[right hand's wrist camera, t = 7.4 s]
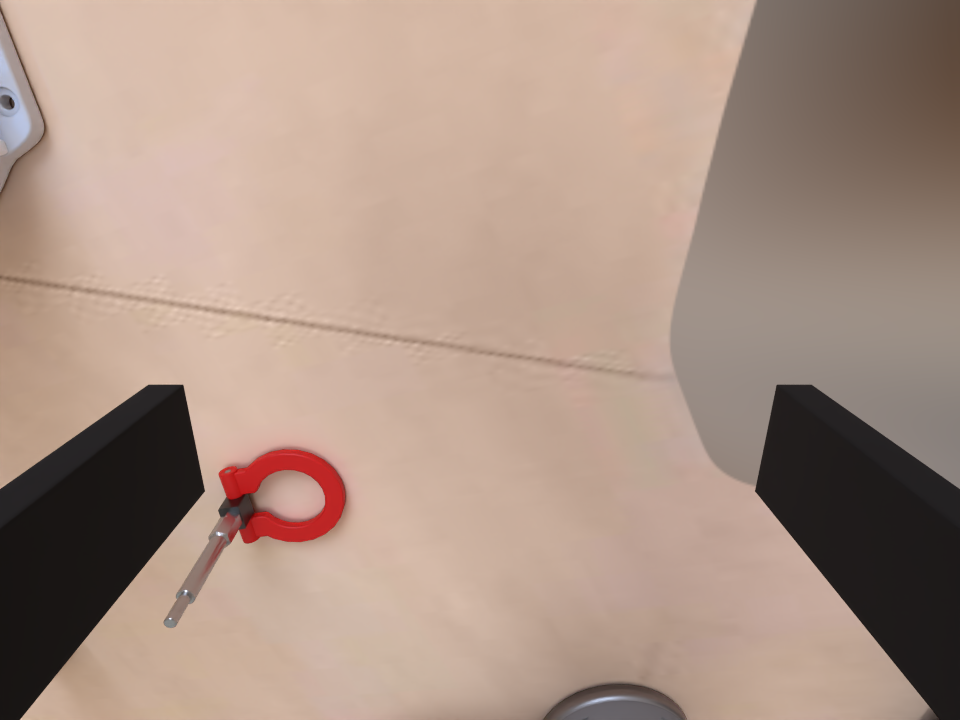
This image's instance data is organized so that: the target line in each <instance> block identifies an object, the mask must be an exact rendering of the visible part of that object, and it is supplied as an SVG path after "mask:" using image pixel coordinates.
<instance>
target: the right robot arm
mask: <svg viewBox="0 0 960 720" xmlns="http://www.w3.org/2000/svg"><path fill="white" fill-rule="evenodd" d="M204 492H205V490H204V485H203V480H202V475H201V470H200V465H199V460H198V455H197V450H196V445H195V440H194V435H193V430H192V426H191V421H190V416H189V411H188V406H187V401H186V396H185V391H184V386H183V385H148V386H146V387H145V388H143V389H142V390H140V391H139V392H138V393H136V394H135V395H133V396H132V397H131V398H129V399H128V400H126V401H125V402H123V403H122V404H121V405H119V406H118V407H116V408H115V409H113V410H112V411H111V412H109V413H108V414H106V415H105V416H104V417H102V418H101V419H99V420H98V421H96V422H95V423H94V424H92V425H91V426H89V427H88V428H86V429H85V430H84V431H82V432H81V433H79V434H78V435H77V436H75V437H74V438H72V439H71V440H69V441H68V442H67V443H65V444H64V445H62V446H61V447H59V448H58V449H57V450H55V451H54V452H52V453H51V454H50V455H48V456H47V457H45V458H44V459H42V460H41V461H40V462H38V463H37V464H35V465H34V466H32V467H31V468H30V469H28V470H27V471H25V472H24V473H23V474H21V475H20V476H18V477H17V478H15V479H14V480H13V481H11V482H10V483H8V484H7V485H5V486H4V487H3V488H1V489H0V720H20V719H21V718H22V716H23V715H24V714H25V713H26V711H27V710H28V709H29V708H30V706H31V705H32V704H33V703H34V702H35V700H36V699H37V698H38V697H39V695H40V694H41V693H42V692H43V690H44V689H45V688H46V687H47V685H48V684H49V683H50V682H51V681H52V679H53V678H54V677H55V676H56V674H57V673H58V672H59V671H60V669H61V668H62V667H63V666H64V664H65V663H66V662H67V661H68V660H69V658H70V657H71V656H72V655H73V653H74V652H75V651H76V650H77V648H78V647H79V646H80V645H81V644H82V642H83V641H84V640H85V639H86V637H87V636H88V635H89V634H90V632H91V631H92V630H93V629H94V627H95V626H96V625H97V624H98V623H99V621H100V620H101V619H102V618H103V616H104V615H105V614H106V613H107V611H108V610H109V609H110V608H111V606H112V605H113V604H114V603H115V602H116V600H117V599H118V598H119V597H120V595H121V594H122V593H123V592H124V590H125V589H126V588H127V587H128V585H129V584H130V583H131V582H132V581H133V579H134V578H135V577H136V576H137V574H138V573H139V572H140V571H141V569H142V568H143V567H144V566H145V564H146V563H147V562H148V561H149V560H150V558H151V557H152V556H153V555H154V553H155V552H156V551H157V550H158V548H159V547H160V546H161V545H162V544H163V542H164V541H165V540H166V539H167V537H168V536H169V535H170V534H171V532H172V531H173V530H174V529H175V527H176V526H177V525H178V524H179V523H180V521H181V520H182V519H183V518H184V516H185V515H186V514H187V513H188V511H189V510H190V509H191V508H192V506H193V505H194V504H195V503H196V502H197V500H198V499H199V498H200V497H201V495H202V494H203V493H204ZM755 492H756V493H757V494H758V495H759V497H760V498H761V499H762V500H763V502H764V503H765V504H766V505H767V506H768V508H769V509H770V510H771V511H772V513H773V514H774V515H775V516H776V518H777V519H778V520H779V521H780V523H781V524H782V525H783V526H784V527H785V529H786V530H787V531H788V532H789V534H790V535H791V536H792V537H793V539H794V540H795V541H796V542H797V544H798V545H799V546H800V547H801V548H802V550H803V551H804V552H805V553H806V555H807V556H808V557H809V558H810V560H811V561H812V562H813V563H814V564H815V566H816V567H817V568H818V569H819V571H820V572H821V573H822V574H823V576H824V577H825V578H826V579H827V581H828V582H829V583H830V584H831V585H832V587H833V588H834V589H835V590H836V592H837V593H838V594H839V595H840V597H841V598H842V599H843V600H844V602H845V603H846V604H847V605H848V606H849V608H850V609H851V610H852V611H853V613H854V614H855V615H856V616H857V618H858V619H859V620H860V621H861V623H862V624H863V625H864V626H865V627H866V629H867V630H868V631H869V632H870V634H871V635H872V636H873V637H874V639H875V640H876V641H877V642H878V644H879V645H880V646H881V647H882V648H883V650H884V651H885V652H886V653H887V655H888V656H889V657H890V658H891V660H892V661H893V662H894V663H895V664H896V666H897V667H898V668H899V669H900V671H901V672H902V673H903V674H904V676H905V677H906V678H907V679H908V681H909V682H910V683H911V684H912V685H913V687H914V688H915V689H916V690H917V692H918V693H919V694H920V695H921V697H922V698H923V699H924V700H925V702H926V703H927V704H928V705H929V706H930V708H931V709H932V710H933V711H934V713H935V714H936V715H937V716H938V718H939V719H940V720H960V489H959V488H957V487H956V486H954V485H953V484H952V483H950V482H949V481H947V480H946V479H944V478H943V477H942V476H940V475H939V474H937V473H936V472H935V471H933V470H932V469H930V468H929V467H928V466H926V465H925V464H923V463H922V462H920V461H919V460H918V459H916V458H915V457H913V456H912V455H910V454H909V453H908V452H906V451H905V450H903V449H902V448H901V447H899V446H898V445H896V444H895V443H893V442H892V441H891V440H889V439H888V438H886V437H885V436H883V435H882V434H881V433H879V432H878V431H876V430H875V429H874V428H872V427H871V426H869V425H868V424H866V423H865V422H863V421H862V420H861V419H859V418H858V417H856V416H855V415H854V414H852V413H851V412H849V411H848V410H847V409H845V408H844V407H842V406H841V405H839V404H838V403H837V402H835V401H834V400H832V399H831V398H829V397H828V396H827V395H825V394H824V393H822V392H821V391H820V390H818V389H817V388H815V387H814V386H812V385H777V386H776V391H775V396H774V401H773V406H772V411H771V416H770V421H769V426H768V430H767V436H766V440H765V445H764V450H763V455H762V460H761V465H760V470H759V475H758V480H757V485H756V490H755ZM544 720H687V719H686V716H685V714H684V713H683V711H682V710H681V709H680V708H679V706H678V705H677V704H676V703H675V702H673V701H672V700H671V699H669V698H668V697H666V696H665V695H663V694H661V693H659V692H657V691H654V690H651V689H648V688H644V687H640V686H635V685H621V684H618V685H604V686H599V687H594V688H590V689H587V690H584V691H581V692H578V693H576V694H574V695H572V696H570V697H568V698H566V699H565V700H563V701H562V702H560V703H559V704H558V705H556V706H555V707H554V708H553V709H552V710H551V711H550V712H549V713H548V714H547V716H546V717H545V719H544Z"/></svg>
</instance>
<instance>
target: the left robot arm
mask: <svg viewBox="0 0 960 720" xmlns="http://www.w3.org/2000/svg"><path fill="white" fill-rule="evenodd" d="M10 97H11V98H12V99H13V101H14V108H12V107H11V106H10V103H9V99H10ZM43 133H44V123H43V119H42V116H41V114H40V111H39V109H38V106H37V103H36V101H35V98H34V96H33V93H32V91H31V88H30V86H29V83H28V80H27V78H26V75H25V73H24V70H23V68H22V65H21V63H20V60H19V58H18V55H17V52H16V50H15V47H14V45H13V42H12V40H11V37H10V35H9V32H8V29H7V27H6V24H5V22H4V19H3V17H2V14H1V12H0V192H1V190H2V188H3V186H4V184H5V181H6V179H7V177H8V174H9V172H10V170H11V168H12V166H13V164H14V163H15V161H16V160H17V159H18V158H19V157H21V156H22V155H24V154H25V153H26V152H28V151H29V150H30V149H31V148H32V147H34V146H35V145H36V144H37V143H38V142H39V141H40V139H41V138H42V136H43Z"/></svg>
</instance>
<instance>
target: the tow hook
mask: <svg viewBox="0 0 960 720" xmlns="http://www.w3.org/2000/svg"><path fill="white" fill-rule="evenodd" d="M281 470H296V471H299V472H303V473H305V474H307V475H309V476H311V477H312V478H313V479H315V480H316V481H317V482H318V483H319V485H320V486H321V487H322V489H323V492H324V494H325V507H324V509H323V510H322V512H321V513H320V514H319V515H317V516H316V517H315V518H313V519H311V520H308V521H305V522H300V523H296V522H287V521H283V520H280V519H278V518H276V517H274V516H273V515H271V514H270V513H269V512H259V513H254V510H253V507H252V504H251V501H250V498H249V496H248V494H249V493H255V492H256V491H257V490H258V488H259V487H260V483H261V482H262V480H263V479H265V478H266V477H267V476H268V475H270V474H272V473H274V472H276V471H281ZM219 477H220V480H221V482H222V485H223V488H224V491H225V493H226V496H227V497H226V499H225V500H224V502H223V504H222V505H221V507H220V508H219V510H218V511H219V514H220V517H221V518H220V519H219V521H218V523H217V524H216V526H215V527H214V529H213V530H212V532H211V533H210V535H209V542H208V544H207V546H206V547H205V549H204V551H203V552H202V554H201V555H200V557H199V559H198V560H197V562H196V563H195V565H194V567H193V568H192V570H191V571H190V573H189V575H188V576H187V578H186V579H185V581H184V583H183V584H182V586H181V588H180V589H179V591H178V592H177V594H176V599H177V600H176V602H175V604H174V605H173V607H172V608H171V610H170V612H169V613H168V615H167V617H166V618H165V620H164V625H165V626H166V627H168V628H173V627H175V626H176V625H177V623H178V622H179V620H180V618H181V616H182V615H183V613H184V611H185V609H186V608H187V606H188V604H191V603H193V602H194V600H195V599H196V597H197V595H198V593H199V592H200V590H201V588H202V586H203V585H204V583H205V581H206V579H207V578H208V576H209V574H210V572H211V571H212V569H213V567H214V566H215V564H216V562H217V560H218V559H219V557H220V555H221V553H222V552H223V550H224V548H226V547H227V546H228V545H229V544H230V543H231V542H232V540H233V539H234V537H235V535H236V533H237V531H238V530H239V531H240V534H241V536H242V539H243V542H244V543H252V542H254V541H256V540H258V539H259V538H260V537H262V536H269V537H271V538H274V539H278V540H282V541H286V542H303V541H308V540H313V539H315V538H318V537H320V536H322V535H324V534H326V533H327V532H328V531H329V530H331V529H332V528H333V527H334V526H335V525H336V523H337V522H338V520H339V519H340V517H341V514H342V511H343V508H344V504H345V489H344V486H343V483H342V480H341V478H340V477H339V475H338V474H337V472H336V471H335V469H334V468H333V467H331V466H330V465H329V464H328V463H327V462H326V461H325V460H323V459H321V458H319V457H317V456H315V455H313V454H311V453H308V452H304V451H300V450H286V449H283V450H278V451H273V452H269V453H267V454H265V455H263V456H261V457H259V458H257V459H256V460H255V461H254V462H253V463H252V464H250V465H249V466H248V467H247V468H241V469H237V467H235V466H231V467H227V468H225V469H223V470H221V471H220V472H219Z"/></svg>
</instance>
